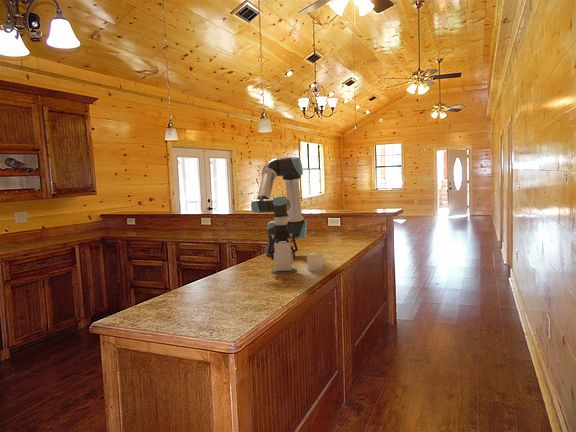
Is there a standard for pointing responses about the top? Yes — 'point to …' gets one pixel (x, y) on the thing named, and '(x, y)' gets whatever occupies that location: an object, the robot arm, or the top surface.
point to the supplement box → (283, 256)
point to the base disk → (284, 271)
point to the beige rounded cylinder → (314, 262)
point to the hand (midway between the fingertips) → (283, 264)
